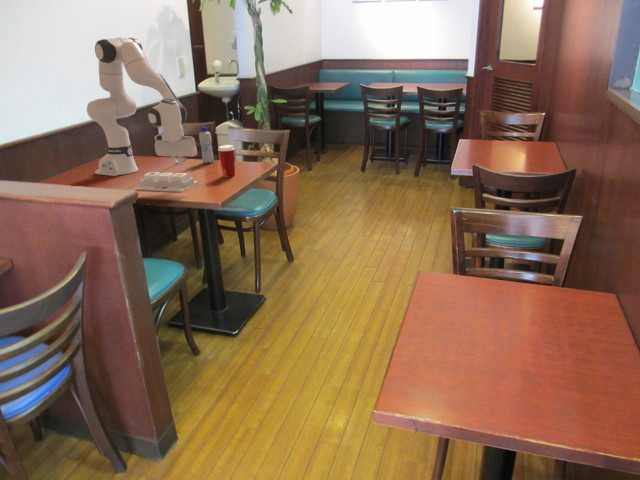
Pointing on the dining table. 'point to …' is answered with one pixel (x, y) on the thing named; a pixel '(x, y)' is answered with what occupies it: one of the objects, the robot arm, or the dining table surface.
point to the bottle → (206, 145)
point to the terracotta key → (180, 177)
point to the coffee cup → (227, 160)
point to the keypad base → (166, 185)
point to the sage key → (165, 177)
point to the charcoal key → (151, 176)
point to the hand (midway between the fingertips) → (178, 165)
